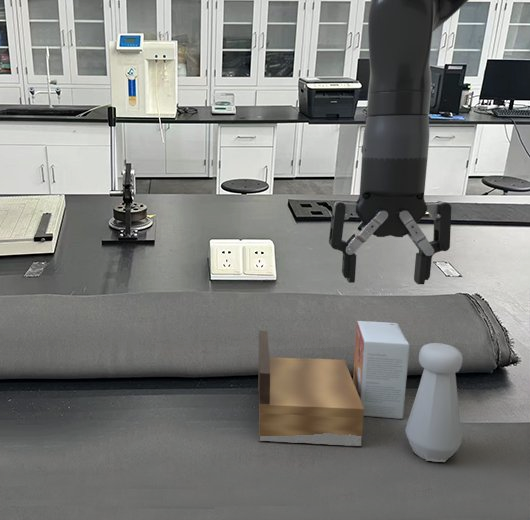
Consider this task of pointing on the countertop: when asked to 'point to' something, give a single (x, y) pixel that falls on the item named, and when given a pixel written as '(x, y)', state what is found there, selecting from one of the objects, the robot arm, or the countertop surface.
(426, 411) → the salt shaker
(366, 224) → the robot arm
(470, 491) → the countertop surface
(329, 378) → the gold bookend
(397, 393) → the small box
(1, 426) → the countertop surface
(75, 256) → the countertop surface
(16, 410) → the countertop surface
